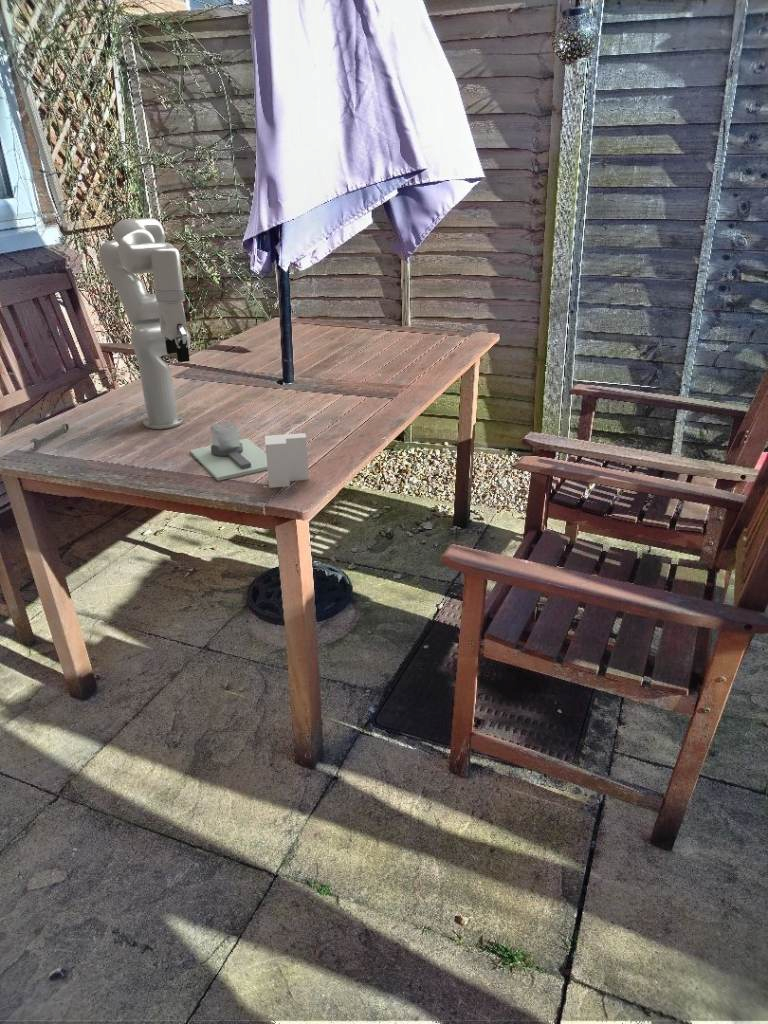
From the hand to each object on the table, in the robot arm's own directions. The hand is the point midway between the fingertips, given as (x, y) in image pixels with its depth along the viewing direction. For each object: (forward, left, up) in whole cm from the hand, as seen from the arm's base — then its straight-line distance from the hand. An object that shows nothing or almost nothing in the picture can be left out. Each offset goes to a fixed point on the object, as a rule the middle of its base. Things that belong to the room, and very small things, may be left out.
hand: (178, 357), depth 200 cm
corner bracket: (+37, +15, -27) cm, 49 cm away
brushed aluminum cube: (+12, +7, -24) cm, 28 cm away
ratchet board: (+17, +7, -27) cm, 33 cm away
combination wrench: (-29, -35, -28) cm, 53 cm away
